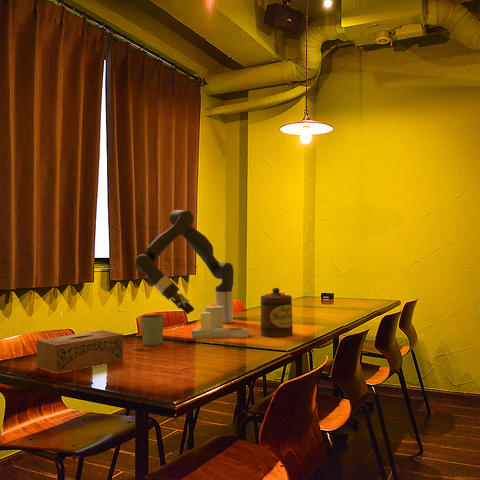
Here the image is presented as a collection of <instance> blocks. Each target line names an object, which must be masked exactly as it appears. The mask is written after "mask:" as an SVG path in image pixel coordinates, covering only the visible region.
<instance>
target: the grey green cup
mask: <svg viewBox="0 0 480 480" xmlns="http://www.w3.org/2000/svg"><path fill="white" fill-rule="evenodd" d="M139 318H140V319H139V320H140V327H141V333H142V334H141V338H142V344H143V345H145V346H156V345H158V346H159V345H161V344H163V343H164V336H163V335H164V334H163V332H164V314H157V313H156V314H146V315H145V314H144V315H141V316H139Z"/></svg>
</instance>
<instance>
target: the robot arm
mask: <svg viewBox="0 0 480 480" xmlns="http://www.w3.org/2000/svg"><path fill="white" fill-rule="evenodd" d="M169 222H170V224H171V227H170V228H168V229H167V230H166V231H164V232H162V233H161V234H159V235H158V236H156V238H155V239H153V241H151V243H150V244H149V245H148V247H146V250H145V252H143V254H139V255H138V256H137V257H136V258H135V261H134V262H135V263H134V268H135V270H136V272H138V273H140V274H142V273H144V274H145V275H146V276H147V279H148V281H149V282H150V283H151V284H152V285H153V286H154V287H155V288H156V289H157V291H158V292H159V293H161V295H162V296H164V298H165V299H166V300H168V301H169V300H170V301H171V302H172V303H173V304H175V307H177V308H178V309H180V310H182V311H183V312H184V313H185V314H187V315H189V314H190V313H192V312H193V311H194V310H195V307H193V305H192V304H190V300H188V299H187V297H185V295H184V294H183V293H178V292H179V291H180V287H178V286H177V285H176V284H175V283H174V282H173V280H171V278H169V277H167V275H165V273H163V272H162V271H161V270H160V269H159V267H158V266H157V264H156V263H155V262H156V260H157V259H158V257H160V256H161V254H163V252H165V250H166V249H167V247H169V246H170V244H171V243H173V242H174V241H175V240H176V239H177V238H178V237H180V236H181V235H182V237H183V238H184V239H185V240H186V242H187V243H188V244H189V246H190V247H192V249H193V251H194V252H195V253H196V254H197V255H198V256H199V257H200V258H201V260H202V261H203V263H204V264H205V265H206V267H207V268H208V269H209V271H210V272H211V275H212V276H213V277H214V278H215V279H217V280H221V282H220V284H218V285H216V286H215V305H216V306H223V324H230V323H231V324H232V323H233V319H234V317H233V315H234V313H233V311H234V310H233V286H234V274H235V271H234V266H233V265H232V263H230V262H220V261H218V259H217V258H216V257H215V255H214V246H213V244H212V243H211V241H210V240H209V239H208V238H207V236H205V234H203V233H201V232H200V231H198V230H197V229H195V227H193V226H192V225H193V223H194V215H193V212H192V211H189V210H186V209H184V210H183V209H176V210H172V212H170V213H169Z"/></svg>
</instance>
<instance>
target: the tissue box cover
mask: <svg viewBox="0 0 480 480" xmlns="http://www.w3.org/2000/svg"><path fill="white" fill-rule="evenodd" d="M118 361H120V362H123V361H124V335H123V333H119V332H113V331H110V330H109V331H108V330H103V329H101V330H95V331H89V332H81V333H77V334H69V335H63V336H55V337H48V338H41V339H36V367H37V366H39V367H42V368H45V369H47V370H50V371H53V372H55V373H56V372H63V371H68V370H74V369H79V368H84V367H90V368H92V367H91V366H95V367H98V366H97V365H100V366H103V365H102V364H105V365H108V363H110V364H115V363H119V362H118ZM114 362H115V363H114Z"/></svg>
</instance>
